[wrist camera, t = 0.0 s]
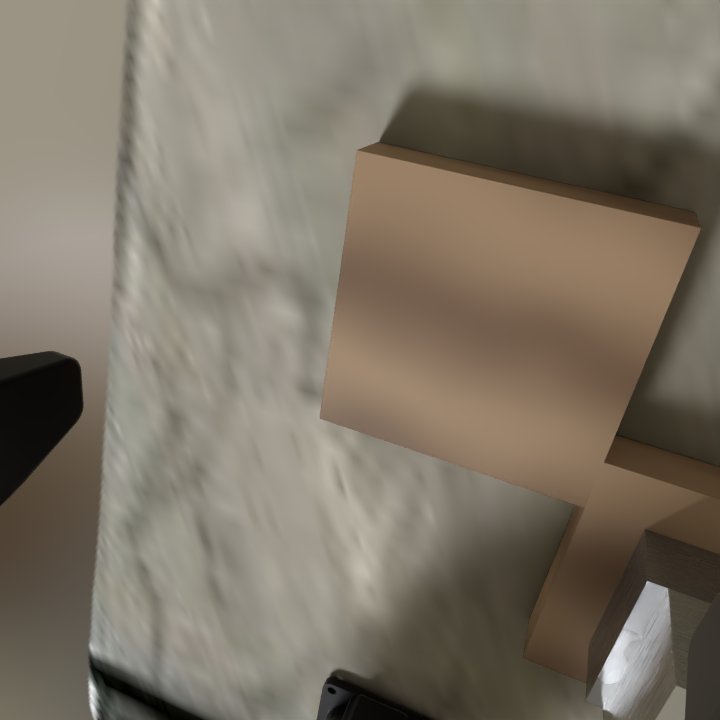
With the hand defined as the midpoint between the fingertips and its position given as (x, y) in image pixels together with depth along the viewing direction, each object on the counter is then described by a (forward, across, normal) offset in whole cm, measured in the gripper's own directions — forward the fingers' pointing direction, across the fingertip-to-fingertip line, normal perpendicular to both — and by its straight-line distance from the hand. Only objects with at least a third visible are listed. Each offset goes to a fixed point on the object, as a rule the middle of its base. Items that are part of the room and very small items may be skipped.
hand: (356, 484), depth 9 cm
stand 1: (+15, 0, +3) cm, 15 cm away
